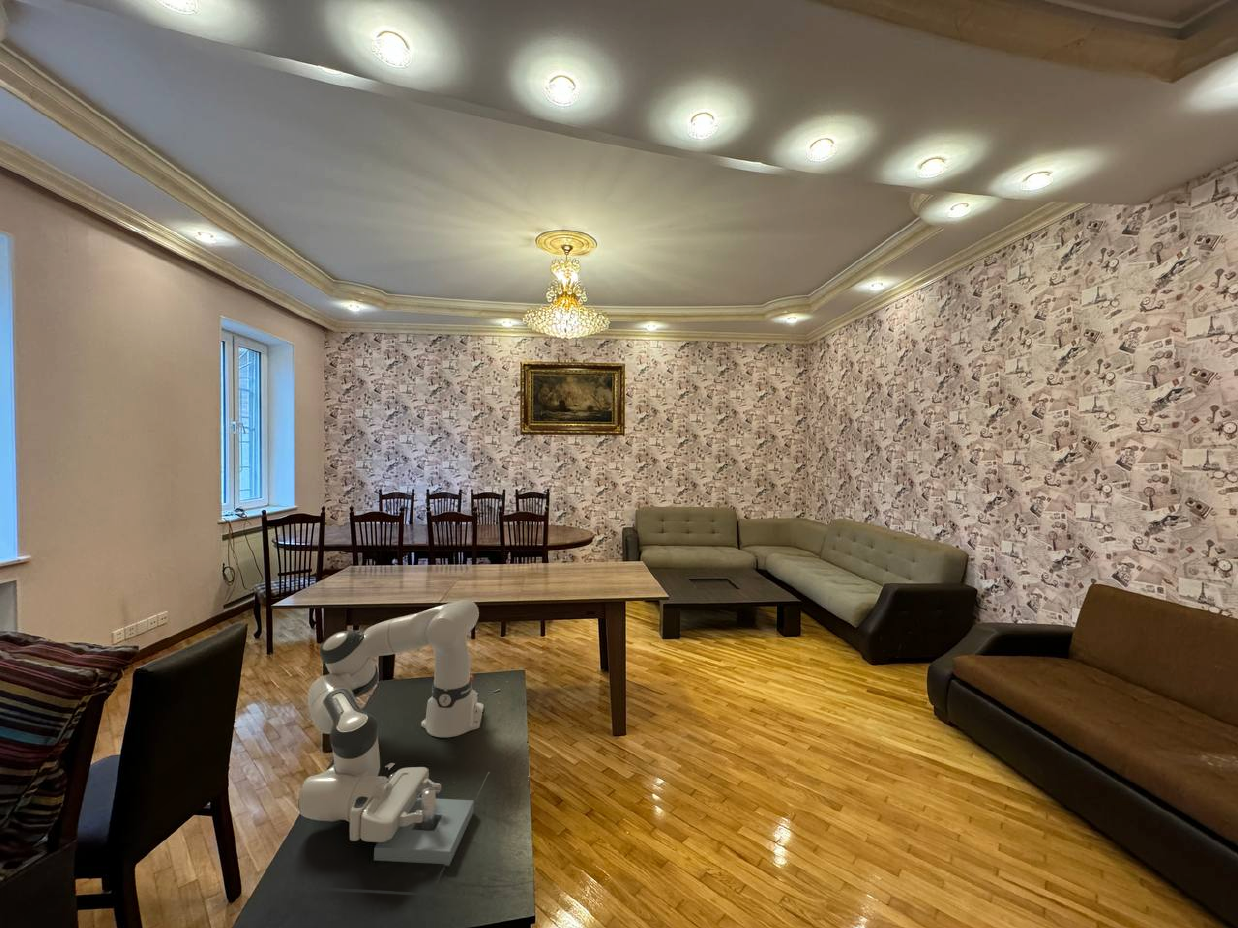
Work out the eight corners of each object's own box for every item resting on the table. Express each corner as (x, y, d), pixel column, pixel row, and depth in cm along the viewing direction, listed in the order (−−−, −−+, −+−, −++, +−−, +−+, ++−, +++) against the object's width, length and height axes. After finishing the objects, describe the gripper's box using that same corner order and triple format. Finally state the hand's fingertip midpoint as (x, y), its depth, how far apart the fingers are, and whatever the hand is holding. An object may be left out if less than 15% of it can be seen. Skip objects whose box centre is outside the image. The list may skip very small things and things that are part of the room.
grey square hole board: (408, 809, 119) (408, 796, 119) (473, 812, 119) (473, 800, 119) (373, 861, 103) (374, 847, 103) (448, 865, 103) (449, 851, 103)
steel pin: (423, 830, 112) (424, 786, 113) (436, 831, 112) (437, 787, 112) (417, 840, 109) (419, 795, 110) (430, 840, 109) (432, 796, 110)
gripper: (393, 783, 122) (448, 786, 121) (345, 846, 101) (411, 850, 101) (394, 758, 122) (449, 761, 121) (347, 816, 101) (413, 819, 101)
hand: (432, 802), depth 111 cm, fingers open, 8 cm apart
